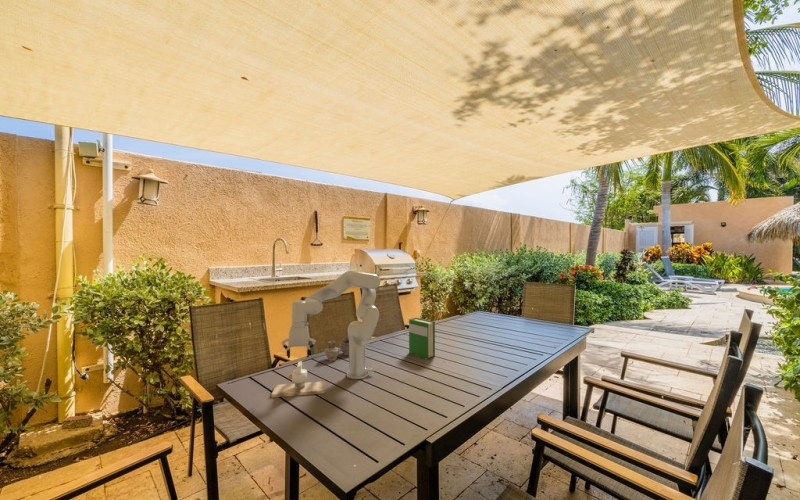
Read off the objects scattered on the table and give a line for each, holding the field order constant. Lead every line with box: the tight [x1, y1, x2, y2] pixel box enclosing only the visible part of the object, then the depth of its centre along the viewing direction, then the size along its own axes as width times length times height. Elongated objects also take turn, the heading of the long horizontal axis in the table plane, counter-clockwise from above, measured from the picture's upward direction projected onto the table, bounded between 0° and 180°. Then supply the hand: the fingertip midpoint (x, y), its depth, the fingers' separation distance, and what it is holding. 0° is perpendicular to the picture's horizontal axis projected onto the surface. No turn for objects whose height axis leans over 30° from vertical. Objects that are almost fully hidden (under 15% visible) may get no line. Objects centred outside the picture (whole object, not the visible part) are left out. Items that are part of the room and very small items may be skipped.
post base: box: [270, 380, 326, 398], centre depth 178 cm, size 26×12×5 cm, turn 101°
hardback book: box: [408, 317, 436, 360], centre depth 235 cm, size 18×7×24 cm, turn 42°
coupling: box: [288, 360, 308, 384], centre depth 178 cm, size 9×8×9 cm
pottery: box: [324, 337, 349, 362], centre depth 232 cm, size 11×25×12 cm, turn 145°
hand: (298, 357), depth 178 cm, fingers open, 9 cm apart
